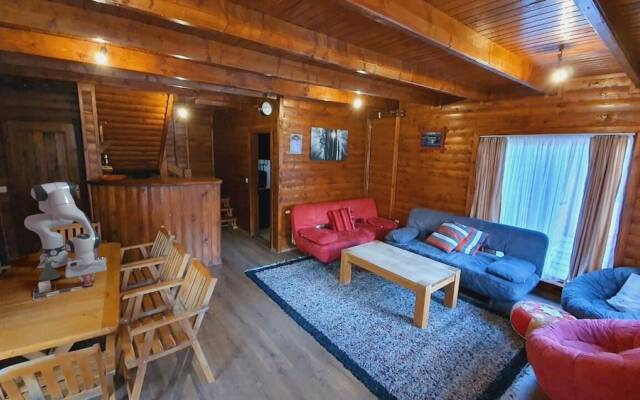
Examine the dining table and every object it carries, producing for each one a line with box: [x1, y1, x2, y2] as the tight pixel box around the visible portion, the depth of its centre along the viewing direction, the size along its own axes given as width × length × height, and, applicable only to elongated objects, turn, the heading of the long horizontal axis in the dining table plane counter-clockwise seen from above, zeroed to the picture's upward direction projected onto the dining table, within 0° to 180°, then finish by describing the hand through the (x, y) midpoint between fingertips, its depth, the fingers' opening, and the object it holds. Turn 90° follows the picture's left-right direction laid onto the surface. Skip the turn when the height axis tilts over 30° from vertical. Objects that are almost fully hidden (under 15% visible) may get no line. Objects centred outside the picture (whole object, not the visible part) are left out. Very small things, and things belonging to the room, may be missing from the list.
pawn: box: [83, 274, 93, 286], centre depth 182 cm, size 4×4×9 cm
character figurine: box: [29, 255, 63, 282], centre depth 184 cm, size 16×8×18 cm, turn 123°
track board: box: [32, 283, 94, 301], centre depth 175 cm, size 5×28×1 cm, turn 131°
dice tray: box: [32, 282, 57, 297], centre depth 175 cm, size 10×10×2 cm
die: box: [37, 280, 52, 293], centre depth 175 cm, size 5×5×5 cm
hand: (87, 280), depth 182 cm, fingers closed on pawn, 3 cm apart
